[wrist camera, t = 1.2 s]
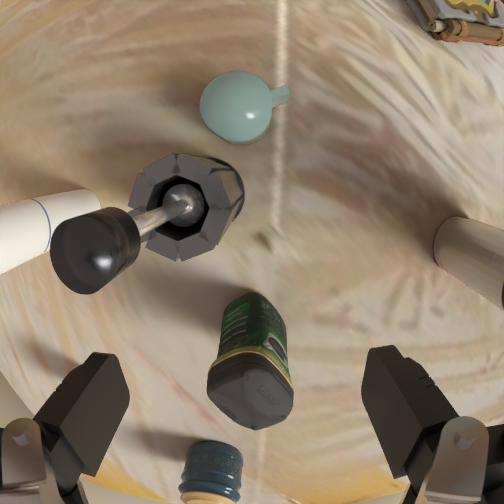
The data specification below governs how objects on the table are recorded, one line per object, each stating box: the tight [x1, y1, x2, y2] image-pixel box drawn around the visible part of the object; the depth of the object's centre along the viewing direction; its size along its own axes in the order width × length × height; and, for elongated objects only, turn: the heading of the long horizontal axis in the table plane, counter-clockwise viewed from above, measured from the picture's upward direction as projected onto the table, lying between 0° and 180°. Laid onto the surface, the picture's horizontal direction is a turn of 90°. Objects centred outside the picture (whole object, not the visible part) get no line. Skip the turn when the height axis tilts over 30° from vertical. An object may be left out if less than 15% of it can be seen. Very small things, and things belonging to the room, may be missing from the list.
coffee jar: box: [207, 294, 294, 430], centre depth 35 cm, size 10×8×19 cm
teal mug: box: [200, 71, 290, 146], centre depth 31 cm, size 10×8×9 cm
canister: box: [178, 441, 243, 504], centre depth 46 cm, size 13×13×18 cm
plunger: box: [50, 184, 206, 294], centre depth 19 cm, size 4×4×18 cm
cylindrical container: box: [0, 189, 101, 274], centre depth 28 cm, size 7×7×25 cm
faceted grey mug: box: [128, 153, 245, 261], centre depth 31 cm, size 12×10×15 cm
